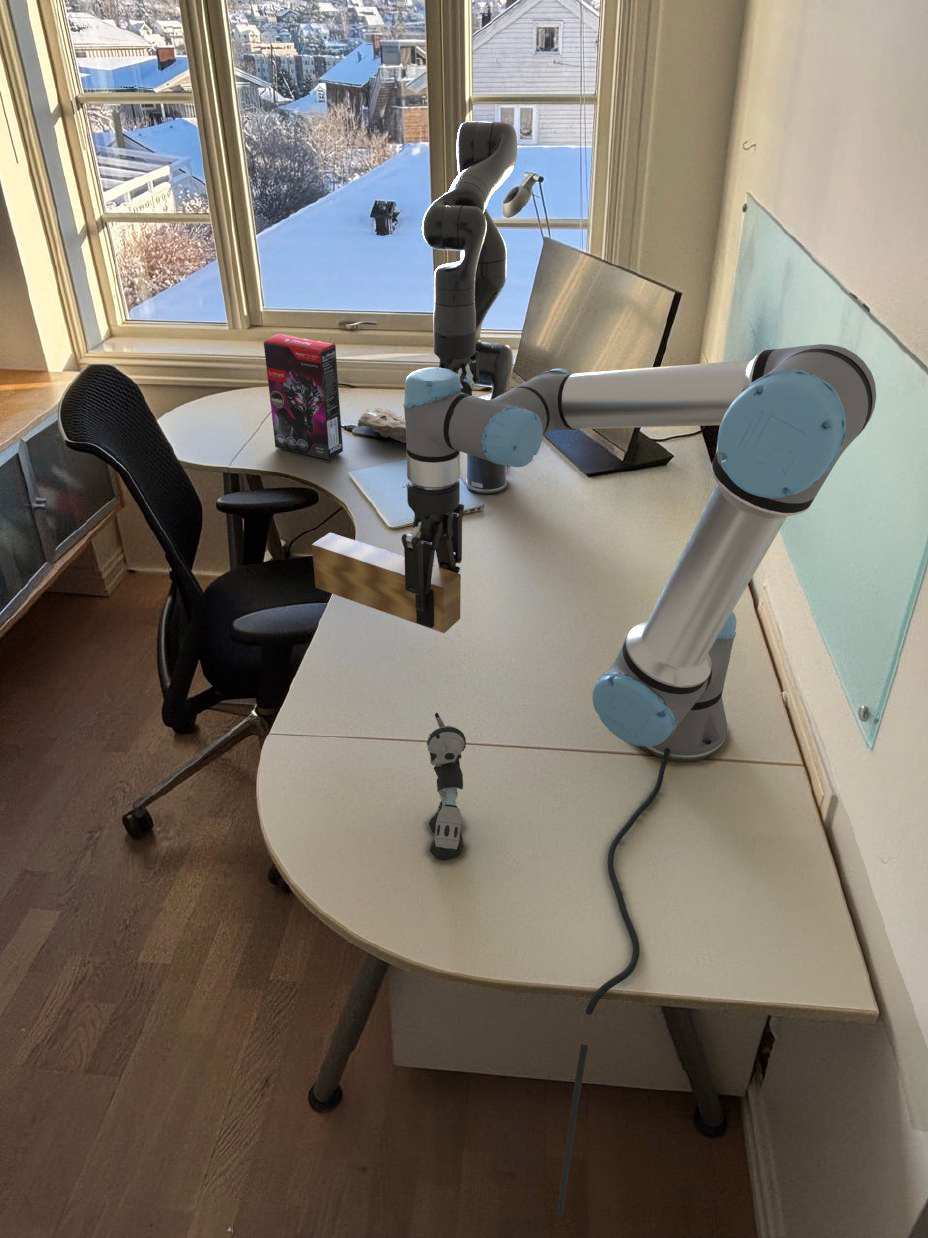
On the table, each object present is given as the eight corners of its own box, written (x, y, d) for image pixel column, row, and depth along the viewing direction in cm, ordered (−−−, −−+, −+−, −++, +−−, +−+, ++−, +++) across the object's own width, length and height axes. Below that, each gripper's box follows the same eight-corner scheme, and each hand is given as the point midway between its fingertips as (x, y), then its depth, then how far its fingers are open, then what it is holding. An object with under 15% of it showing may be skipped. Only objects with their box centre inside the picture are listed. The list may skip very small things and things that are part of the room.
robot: (468, 894, 116) (470, 778, 105) (429, 895, 116) (427, 779, 105) (461, 784, 133) (462, 674, 121) (427, 785, 132) (425, 675, 121)
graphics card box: (273, 448, 231) (260, 339, 216) (289, 438, 236) (278, 332, 221) (329, 461, 225) (320, 351, 210) (345, 451, 230) (337, 342, 215)
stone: (342, 431, 232) (346, 408, 230) (364, 423, 246) (368, 401, 243) (419, 455, 229) (424, 432, 226) (437, 445, 242) (442, 423, 240)
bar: (460, 618, 145) (460, 574, 140) (444, 633, 141) (444, 588, 137) (333, 575, 155) (329, 532, 151) (315, 587, 152) (311, 544, 147)
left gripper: (456, 314, 169) (456, 399, 178) (414, 334, 159) (416, 423, 168) (492, 320, 166) (490, 406, 175) (452, 341, 156) (452, 431, 165)
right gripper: (444, 452, 139) (444, 584, 152) (375, 497, 126) (382, 636, 139) (487, 463, 136) (484, 596, 149) (420, 510, 123) (423, 652, 136)
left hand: (454, 414), depth 172 cm, fingers open, 8 cm apart
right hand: (434, 615), depth 144 cm, fingers closed on bar, 5 cm apart
